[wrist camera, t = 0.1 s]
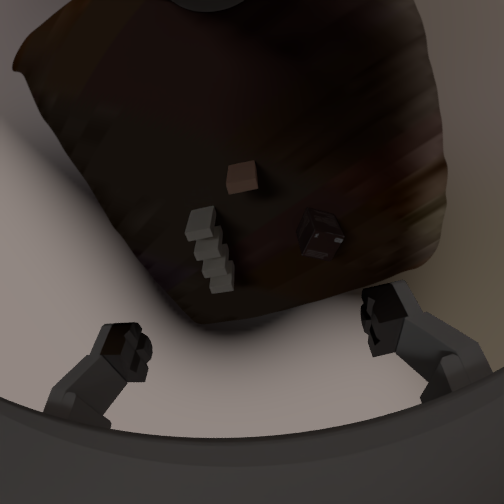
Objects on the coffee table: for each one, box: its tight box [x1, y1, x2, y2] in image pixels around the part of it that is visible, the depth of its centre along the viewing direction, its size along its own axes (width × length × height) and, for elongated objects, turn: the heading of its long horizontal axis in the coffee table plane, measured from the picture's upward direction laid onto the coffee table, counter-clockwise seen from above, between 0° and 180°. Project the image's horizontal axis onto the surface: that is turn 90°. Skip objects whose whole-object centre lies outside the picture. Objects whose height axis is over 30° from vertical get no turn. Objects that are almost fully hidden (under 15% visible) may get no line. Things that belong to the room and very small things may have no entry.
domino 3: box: [202, 243, 229, 278], centre depth 55 cm, size 2×4×7 cm, turn 102°
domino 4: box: [210, 260, 235, 294], centre depth 58 cm, size 2×4×7 cm, turn 102°
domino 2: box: [194, 225, 223, 261], centre depth 52 cm, size 2×4×7 cm, turn 102°
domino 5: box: [226, 160, 258, 194], centre depth 44 cm, size 2×4×7 cm, turn 102°
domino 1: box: [185, 206, 216, 241], centre depth 49 cm, size 2×4×7 cm, turn 103°
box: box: [296, 207, 345, 261], centre depth 51 cm, size 6×6×7 cm
